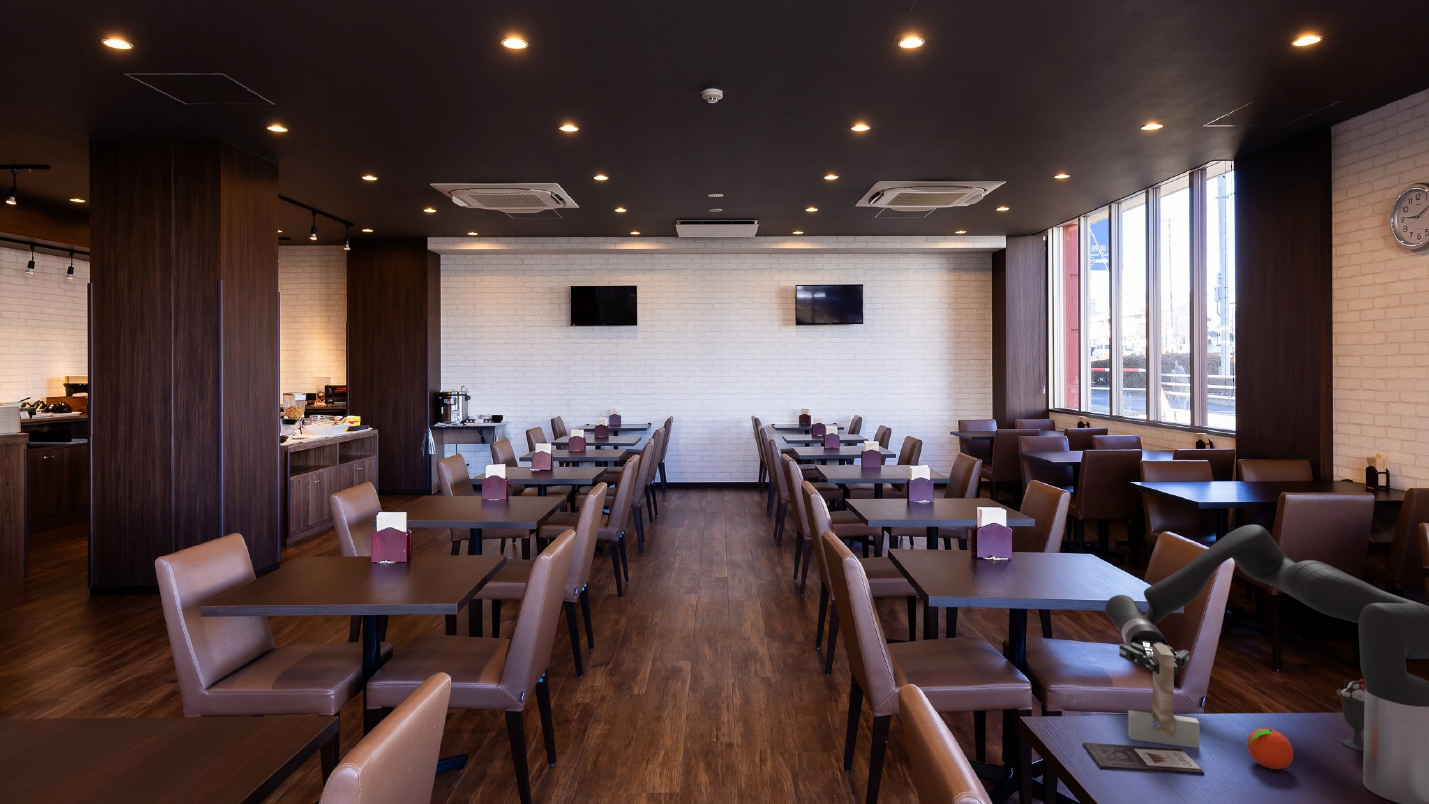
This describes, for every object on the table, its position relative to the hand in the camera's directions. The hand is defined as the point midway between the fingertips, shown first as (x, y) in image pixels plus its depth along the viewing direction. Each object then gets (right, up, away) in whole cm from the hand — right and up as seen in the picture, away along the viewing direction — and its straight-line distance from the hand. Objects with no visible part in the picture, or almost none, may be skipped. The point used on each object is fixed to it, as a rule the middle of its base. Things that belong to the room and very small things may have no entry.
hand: (1165, 670), depth 145 cm
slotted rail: (+1, -15, +2) cm, 15 cm away
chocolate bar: (-8, -16, -5) cm, 18 cm away
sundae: (+38, -15, 0) cm, 41 cm away
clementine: (+14, -16, -8) cm, 22 cm away
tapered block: (+1, -13, +2) cm, 13 cm away
